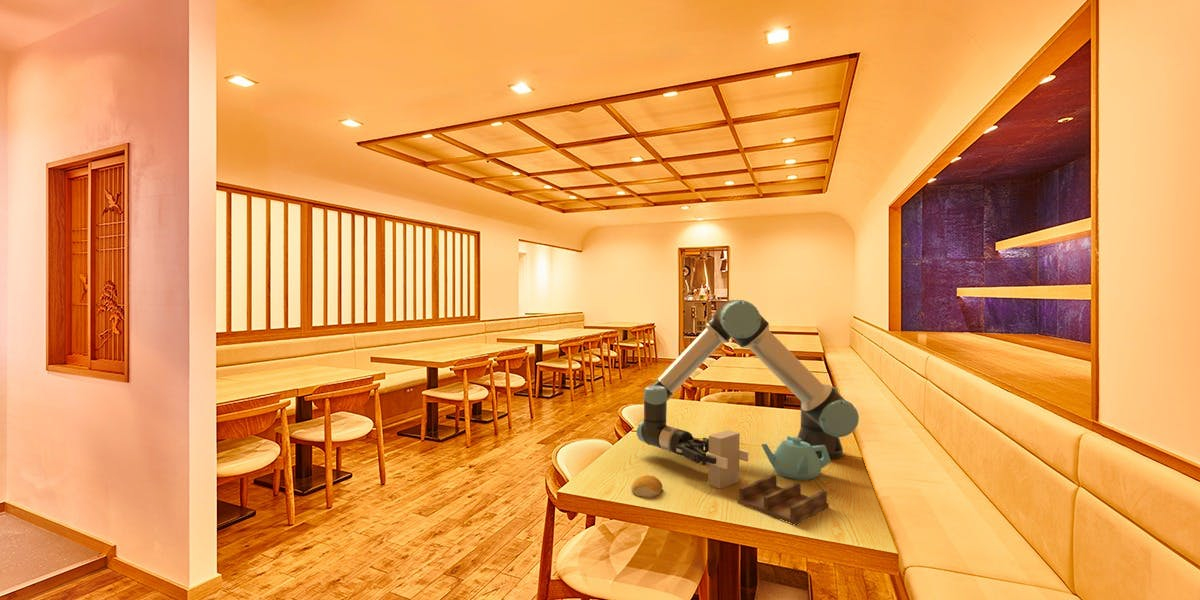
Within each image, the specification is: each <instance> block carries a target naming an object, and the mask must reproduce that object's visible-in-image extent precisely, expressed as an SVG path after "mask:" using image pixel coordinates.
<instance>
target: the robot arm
mask: <svg viewBox="0 0 1200 600" xmlns="http://www.w3.org/2000/svg"><path fill="white" fill-rule="evenodd" d="M730 339H733V341H734V342H736V344H738V346H739V347H740V348H742V349H749V350H750V351H751V352H752V354H754V355H755V356H756V357H757V358H758V359H759V360H760V361H761V362H762V363H763V364H764V365H765V366H766V367H767V368H768V370H769V371H771V372H772V374H774V376H776V377H777V379H779V380H780V381H781V383H783V385H784V386H785V387H787V389H788V390H789V391H790V392H791V393H792V394H793V395H794V396H795V397H796V398H797V399H798V400H799V401H800V429H799V431H798V435H797V437H798V438H801V441H803V442H807V443H809V444H810V445H811V446H817V445H825V446H826V449H827V452H828V454H829V457H830V460H837V459H838V458H839V459H841V458H843V457H844V448H843V445H842V441H841V439H840V438H843V437H847V436H848V435H851V434H852V433H853V432H854V431H855V430H856V428H858V424H859V420H860V419H859V418H860V416H859V412H858V409H857V408H856V407H855V406H854V405H853V403H851V402H850V401H849V400H846V399H845V398H844V397H843V396H842V395H841V394H840V393H839V389H838V388H837V387H835V386H831V384H828V383H827V384H825V383H824V384H823V383H822V382H821V381H820V380H819V379H818V378H817V377H816V376H815V374H813V373H812V372H811V371H810V370H809V369H808V368H807V367H806V366H805V365H804V364H803V363H802V362H801V361H800V360H799V359H798V358H797V357H796V356H795V354H793V353H792V352H791V351H790V350H789V349H788V348H787V347H786V346H785V345H784V344H783V343H782V342H781V341H780V340H779V339H778V338H777V336H776V335H774V334H773V333H772V332H771V331H770V323H769V322H768V321H767V320H766V319H765V318H764V317H763V316H762V314H760V312H759V310H758V308H757V307H756V305H754V304H753V303H751V302H749V301H747V300H744V299H743V300H742V299H735V300H734V299H733V300H728V301H726V302H724V303H723V304H721V305H720V306H719V308H718V309H717V310H716V311H715V313H714V314H713V316H711V317H710V319H709V320H708V321H707V322H706V323H705V328H704V329H703V331H702V332H701V333H700V334H699V335H698V336H697V337H696V338H695V339H694V340H693V341H692V342H691V343H690V344H689V345H688V346H687V347H686V349H684V350H683V351H682V352H681V353H680V354H679V355H678V357H677V358H676V359H674V361H672V363H671V364H670V365H669V366H668V367H667V368H666V369H665V370H664V372H662V373H661V375H660V376H659V377H657V379H656V380H655V381H654V382H653V383H652V384H650V385H648V386H646V387H644V393H643V420H641V421H640V422H639V423H638V425H637V426H638V427H637V428H636V436H637V438H638V440H639V441H641V442H643V443H645V444H647V445H649V446H653V447H656V448H658V449H662V450H665V451H667V452H668V453H670V454H671V453H674V454H676V455H678V456H682V457H684V458H686V459H687V460H689V461H692V462H693V463H696V464H701V465H702V466H706V465H707V464H708V465H709V464H712V465H715V466H718V467H721V468H724V469H728V459H727V458H724V457H721V456H717V455H714V454H711V453H709V438H707V437H702V439H699V438H694V436H693V434H692V433H691V432H690V431H687V430H684V429H683V430H682V429H680V428H676V427H674V426H670V425H667V409H668V408H667V406H668V404H667V403H668V401H667V400H669V399H670V398H671V396H672V395H674V393H675V392H676V391H677V390H678V389H679V388H680V387H681V386H682V385H683V384H684V383H685V382H686V380H687V379H689V378H690V376H691V375H692V374H693V373H695V371H696V370H698V368H699V367H700V366H701V365H702V364H703V363H704V362H706V360H707V359H708V358H709V357H710V356H711V355H712V354H713V353H714V352H715V351H716V350H717V349H718V348H719V346H720V345H722V344H723V343H724V344H725V343H727V342H728V341H729V340H730ZM815 452H816V454H817V456H818V458H819V459H821V458H822V457H823V456H822V452H821V450H820V451H815ZM842 456H843V457H842ZM739 461H743V462H746V463H748V462H749V451H747V450H743V449H740V448H739Z"/></svg>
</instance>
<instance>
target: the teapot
mask: <svg viewBox="0 0 1200 600" xmlns="http://www.w3.org/2000/svg"><path fill="white" fill-rule="evenodd" d="M761 447H762V450H763V451H764V453H765V455H766V457H767V459H768V461H769V463H770V464H771V465H772V468H773V470H775V472H776V473H777V474H778V475H779V476H782V477H785V478H788V479H793V480H798V481H799V480H800V481H809V480H814V479H816V478H817V477H818V476H819V475H820V474H821V472H822V469H823V468H825V466H827V465H828V464H829V463H831V461H832V459H830V457H829V454H828V452H827V449H826V446H825V445H817V446H811V445H810V444H809V443H807V442H803V441H801V438H798V436H793V437H792V436H791V435H789V436H788V435H787V436H786V440H783V441H781V443H780V444H779V445H778V447H776V450H775V451H774V453H773V452H772V451H771V449H770V447H769V445H768V443H762V444H761ZM820 450H821V452H822V456H823V457H822V458H821V459H819V458H818V456H817V454H816V452H815V451H820Z"/></svg>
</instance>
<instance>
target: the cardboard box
mask: <svg viewBox="0 0 1200 600" xmlns="http://www.w3.org/2000/svg"><path fill="white" fill-rule="evenodd" d="M740 434H741V433H739V432H735V431H732V430H729V429H728V430H724V431H720V432H717V433H714V434H713V433H712V434H709V435H708V439H709V452H708V453H711V454H714V455H717V456H721V457H724V458H727V459H728V469H724V468H721V467H718V466H715V465H712V464H709V463H708V470H707V471H708V475H707V476H708V480H707V481H708V482H707V483H708V484H707V485H708V486H711V487H714V488H717V489H719V490H721V489H723V488H726V487H729V486H731V485H733V484H736V483H739V482H740V459H739V449H740Z"/></svg>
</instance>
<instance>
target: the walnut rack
mask: <svg viewBox="0 0 1200 600" xmlns="http://www.w3.org/2000/svg"><path fill="white" fill-rule="evenodd" d="M777 480H778V477H777V474H775V473H773V474H771V475H768V476H766V477H762V478H761V479H758V480H755V481H753V482H751V483H748V484H746V485H743V486H742V487H739V497H738V498H737V503H738V504H740V505H742V504H743V506H745V507H747V506H748V507H747V508H750V507H751V508H750V509H752V508H753V510H755V509H756V510H755V511H757V510H758V511H757V512H760V513H763V514H766V515H767V514H768V516H770V515H771V517H772V516H773V518H776V519H777V520H780V519H782V520H781V521H783V520H784V521H783V522H785V521H787V522H786V523H788V522H790V523H792V524H791V525H793V524H795V525H797V524H799V523H800V524H802V523H803V522H802V521H804V520H806V519H807V520H809V519H811V518H813V517H814V516H816V515H818V514H820V513H821V512H823V511H825V510H827V509H828V508H829V503H828V502H827V500H828V499H827V498H828V497H827V496H828V491H826V490H824V489H822V490H820V491H818V492H816V493H815V494H813V495H810V496H807V495H805V494H802V493H801V491H802V490H801V488H802V487H801V485H802V483H801V482H799V481H795V482H793V483H791V484H788V485H786V486H785V487H781V486H778V485H777V482H778V481H777ZM819 512H820V513H819ZM812 516H813V517H812ZM810 517H811V518H810ZM808 518H809V519H808ZM807 520H806V521H807ZM801 522H802V523H801ZM804 522H805V521H804ZM790 523H789V524H790ZM800 524H799V525H800ZM795 525H794V526H795ZM797 526H798V525H797Z"/></svg>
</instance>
